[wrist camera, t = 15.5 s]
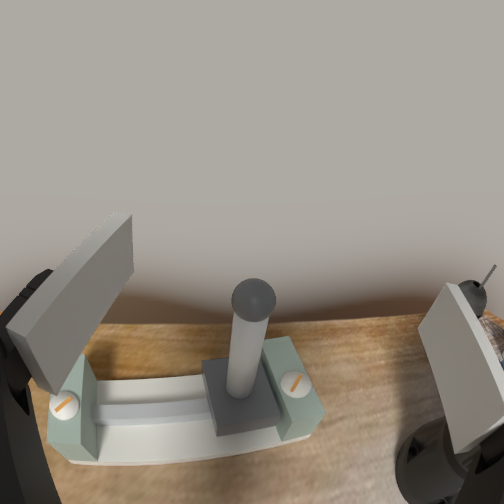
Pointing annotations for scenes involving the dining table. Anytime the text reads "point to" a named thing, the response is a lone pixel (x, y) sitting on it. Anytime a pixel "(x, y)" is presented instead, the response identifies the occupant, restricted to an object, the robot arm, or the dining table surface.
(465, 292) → the beverage cup
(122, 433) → the rail stand
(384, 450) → the dining table surface
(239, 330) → the carriage
